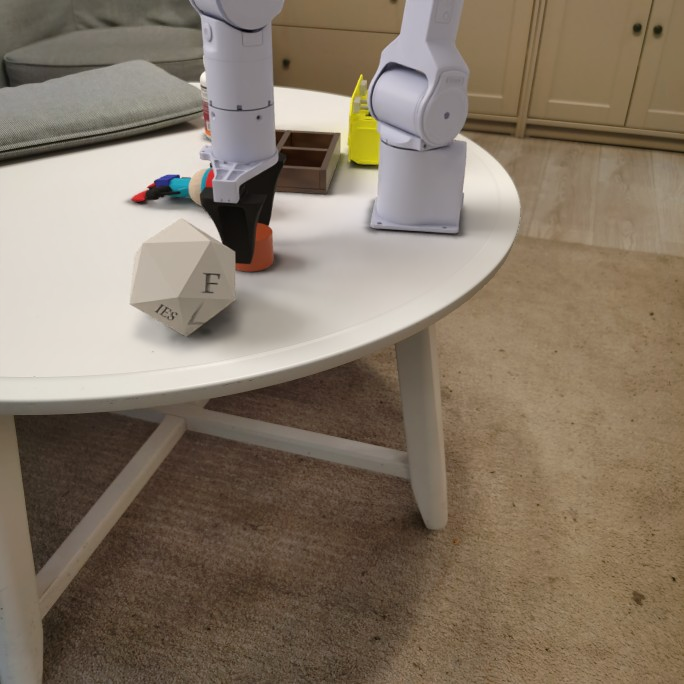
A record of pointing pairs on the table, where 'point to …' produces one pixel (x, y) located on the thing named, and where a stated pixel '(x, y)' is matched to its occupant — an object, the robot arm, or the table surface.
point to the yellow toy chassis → (362, 129)
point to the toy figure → (178, 186)
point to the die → (183, 277)
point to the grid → (307, 160)
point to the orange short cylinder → (260, 250)
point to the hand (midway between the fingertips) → (249, 243)
